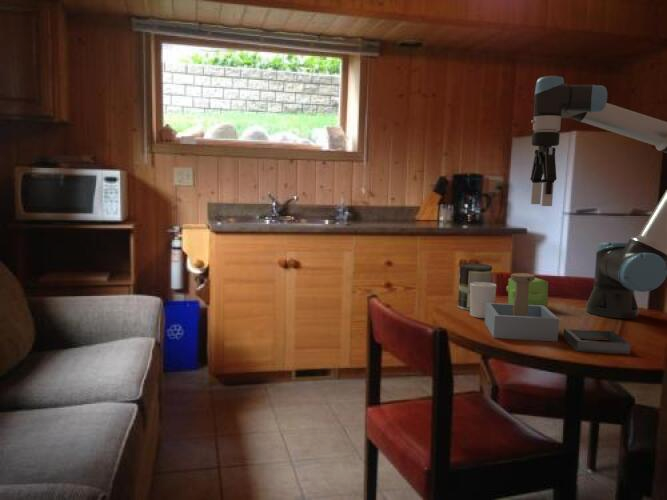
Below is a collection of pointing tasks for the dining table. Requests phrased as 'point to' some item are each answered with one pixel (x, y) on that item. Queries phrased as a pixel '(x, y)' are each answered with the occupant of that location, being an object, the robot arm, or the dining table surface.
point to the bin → (521, 323)
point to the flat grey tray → (613, 346)
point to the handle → (521, 293)
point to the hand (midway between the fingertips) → (540, 205)
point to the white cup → (481, 297)
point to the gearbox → (531, 292)
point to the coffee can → (468, 275)
